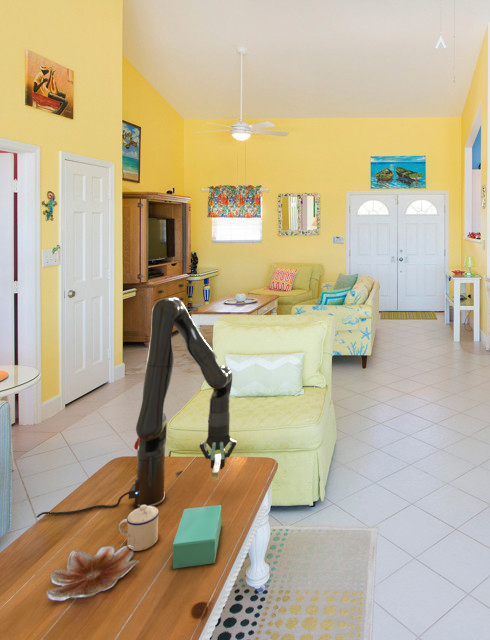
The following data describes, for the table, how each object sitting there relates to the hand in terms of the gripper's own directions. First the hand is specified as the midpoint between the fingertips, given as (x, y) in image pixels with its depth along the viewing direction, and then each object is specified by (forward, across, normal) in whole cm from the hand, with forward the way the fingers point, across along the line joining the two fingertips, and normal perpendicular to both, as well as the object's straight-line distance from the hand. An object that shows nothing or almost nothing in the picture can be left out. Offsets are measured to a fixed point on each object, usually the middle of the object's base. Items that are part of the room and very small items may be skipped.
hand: (217, 468), depth 172 cm
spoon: (0, 0, 0) cm, 0 cm away
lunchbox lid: (+5, +3, +26) cm, 27 cm away
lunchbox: (+12, +2, +26) cm, 29 cm away
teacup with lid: (+12, +22, +20) cm, 32 cm away
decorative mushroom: (+13, +32, -32) cm, 47 cm away
